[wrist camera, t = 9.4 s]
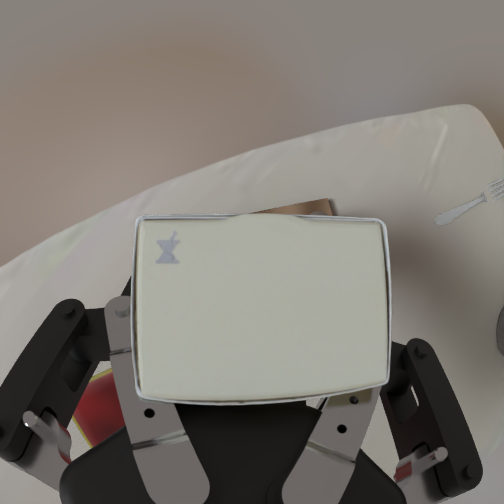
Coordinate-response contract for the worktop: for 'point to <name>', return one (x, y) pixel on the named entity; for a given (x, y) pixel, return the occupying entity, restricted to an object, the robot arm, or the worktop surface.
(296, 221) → the skincare box
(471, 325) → the worktop surface
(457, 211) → the fork
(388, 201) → the worktop surface
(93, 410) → the hardcover book
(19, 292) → the worktop surface
